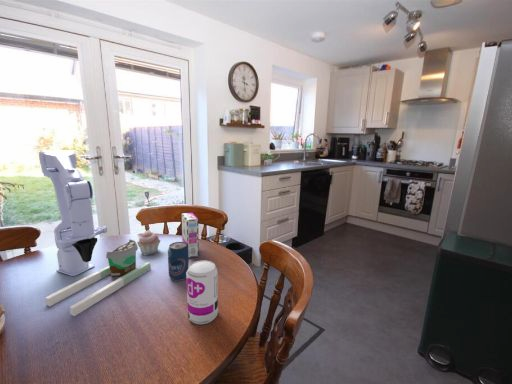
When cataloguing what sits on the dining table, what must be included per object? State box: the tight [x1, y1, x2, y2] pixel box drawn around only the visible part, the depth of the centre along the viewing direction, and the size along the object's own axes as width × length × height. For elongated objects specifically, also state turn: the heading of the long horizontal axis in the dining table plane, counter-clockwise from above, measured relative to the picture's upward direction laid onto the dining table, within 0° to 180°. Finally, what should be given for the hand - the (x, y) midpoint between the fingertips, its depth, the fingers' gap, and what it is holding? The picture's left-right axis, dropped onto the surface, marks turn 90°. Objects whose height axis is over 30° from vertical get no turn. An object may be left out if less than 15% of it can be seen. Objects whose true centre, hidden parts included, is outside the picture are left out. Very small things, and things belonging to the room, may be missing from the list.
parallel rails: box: [44, 261, 152, 317], centre depth 84 cm, size 12×28×2 cm, turn 159°
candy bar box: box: [181, 212, 200, 259], centre depth 108 cm, size 11×5×16 cm, turn 27°
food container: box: [105, 239, 139, 278], centre depth 91 cm, size 12×6×10 cm, turn 169°
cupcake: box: [136, 229, 162, 256], centre depth 107 cm, size 9×9×10 cm
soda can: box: [167, 241, 190, 282], centre depth 89 cm, size 7×7×12 cm
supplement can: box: [186, 260, 219, 325], centre depth 69 cm, size 8×8×15 cm
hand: (86, 260), depth 80 cm, fingers closed
